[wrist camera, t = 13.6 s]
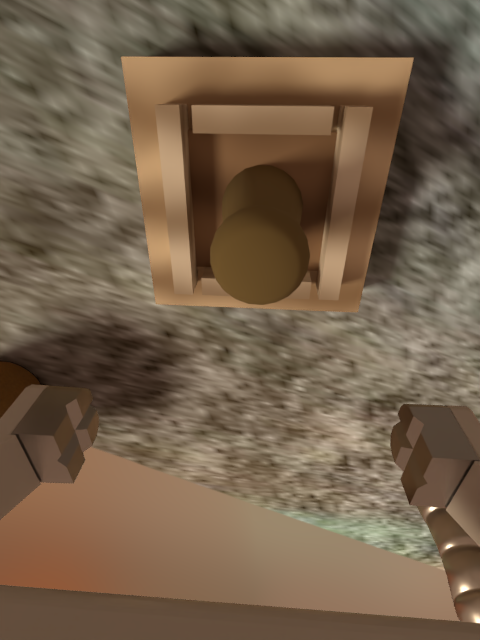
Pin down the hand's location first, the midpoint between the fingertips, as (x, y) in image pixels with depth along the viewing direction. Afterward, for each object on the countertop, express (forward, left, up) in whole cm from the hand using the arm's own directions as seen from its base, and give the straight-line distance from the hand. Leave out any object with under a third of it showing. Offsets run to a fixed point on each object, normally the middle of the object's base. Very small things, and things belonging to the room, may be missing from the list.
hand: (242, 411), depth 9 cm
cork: (0, 0, -20) cm, 20 cm away
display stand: (0, 0, -25) cm, 25 cm away
